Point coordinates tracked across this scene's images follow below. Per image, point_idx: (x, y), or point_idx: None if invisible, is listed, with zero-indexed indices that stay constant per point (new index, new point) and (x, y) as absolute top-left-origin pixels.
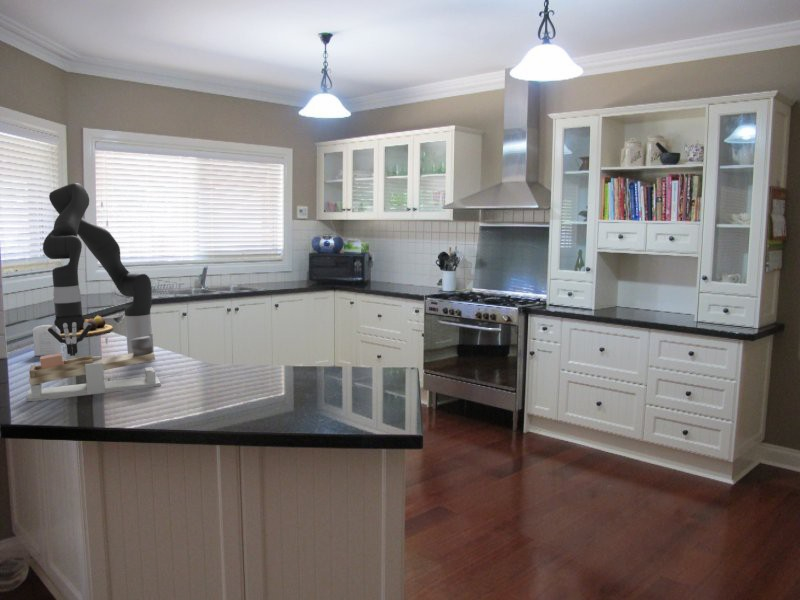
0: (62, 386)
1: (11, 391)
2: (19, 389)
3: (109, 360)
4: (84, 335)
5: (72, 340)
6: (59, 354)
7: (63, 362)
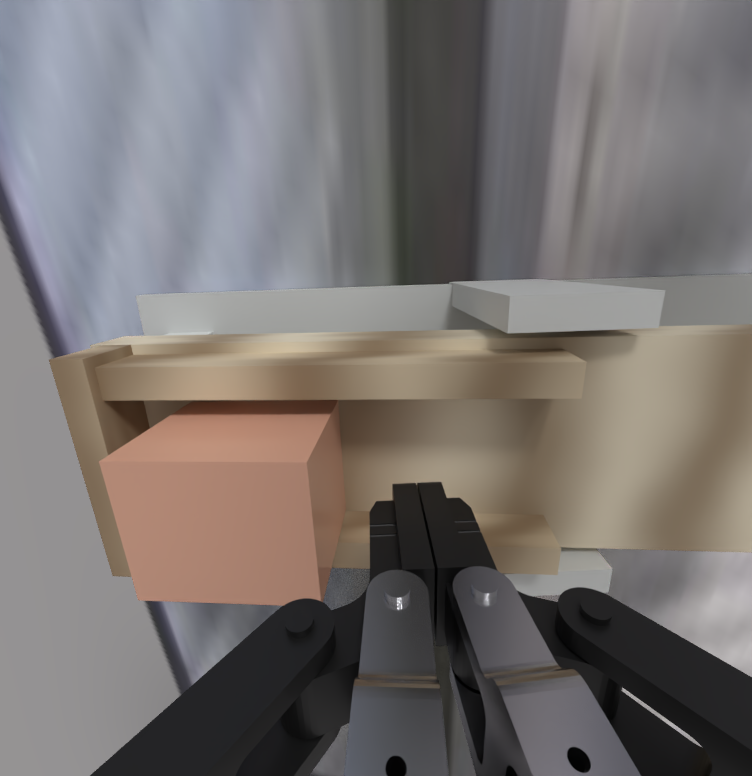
0: (317, 296)
1: (12, 179)
2: (46, 140)
3: (676, 462)
4: (679, 771)
5: (460, 702)
6: (295, 551)
7: (332, 484)
